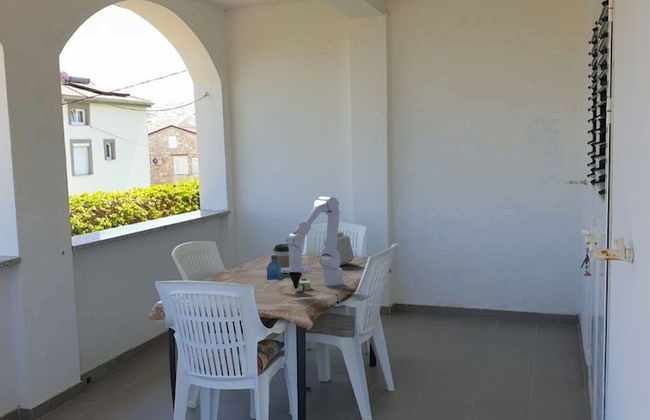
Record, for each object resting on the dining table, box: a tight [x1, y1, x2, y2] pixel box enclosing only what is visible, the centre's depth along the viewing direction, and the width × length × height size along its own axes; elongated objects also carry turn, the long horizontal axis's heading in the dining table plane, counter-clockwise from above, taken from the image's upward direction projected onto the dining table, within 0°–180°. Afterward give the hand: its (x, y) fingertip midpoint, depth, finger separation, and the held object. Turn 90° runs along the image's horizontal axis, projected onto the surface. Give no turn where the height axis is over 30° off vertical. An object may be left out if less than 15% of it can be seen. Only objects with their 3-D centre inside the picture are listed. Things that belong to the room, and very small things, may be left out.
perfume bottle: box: [266, 254, 283, 281], centre depth 317 cm, size 6×6×12 cm
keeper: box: [298, 280, 312, 290], centre depth 286 cm, size 4×6×3 cm
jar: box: [323, 231, 355, 266], centre depth 349 cm, size 19×15×25 cm
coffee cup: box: [272, 243, 289, 274], centre depth 332 cm, size 11×11×15 cm
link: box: [298, 279, 308, 291], centre depth 288 cm, size 15×4×2 cm, turn 174°
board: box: [271, 277, 321, 296], centre depth 286 cm, size 19×17×5 cm
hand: (296, 288), depth 283 cm, fingers closed
